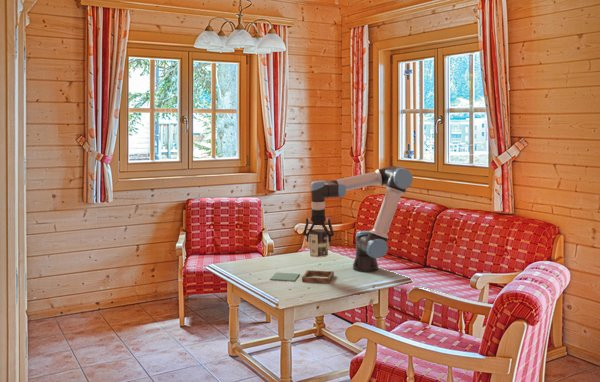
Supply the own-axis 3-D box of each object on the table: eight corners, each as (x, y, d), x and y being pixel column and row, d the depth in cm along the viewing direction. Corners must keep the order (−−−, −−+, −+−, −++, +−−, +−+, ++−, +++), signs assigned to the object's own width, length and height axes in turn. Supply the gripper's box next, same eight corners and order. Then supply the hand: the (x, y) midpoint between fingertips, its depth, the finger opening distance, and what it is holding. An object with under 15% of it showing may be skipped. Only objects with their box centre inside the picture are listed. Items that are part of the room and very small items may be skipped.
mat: (299, 274, 340) (299, 273, 340) (294, 281, 327) (294, 280, 326) (276, 273, 343) (276, 272, 343) (270, 280, 329) (270, 278, 329)
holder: (333, 275, 338) (333, 271, 337) (329, 283, 323) (329, 278, 322) (307, 274, 341) (307, 270, 341) (302, 281, 326) (302, 277, 326)
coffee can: (329, 253, 334) (328, 229, 332) (326, 257, 324) (326, 232, 322) (311, 253, 336) (311, 228, 334) (308, 257, 326) (307, 232, 324)
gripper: (296, 209, 325) (297, 248, 328) (337, 210, 321) (337, 250, 324) (299, 207, 333) (300, 245, 336) (339, 208, 328) (339, 246, 331)
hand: (318, 247), depth 330 cm, fingers closed on coffee can, 10 cm apart
